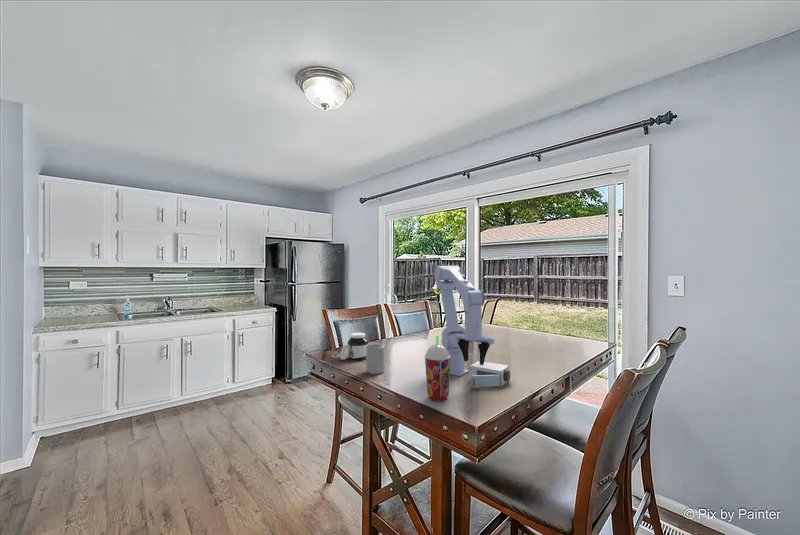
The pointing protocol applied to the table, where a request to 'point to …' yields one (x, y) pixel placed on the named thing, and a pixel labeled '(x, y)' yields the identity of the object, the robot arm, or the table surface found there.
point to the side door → (486, 380)
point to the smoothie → (437, 372)
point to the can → (375, 358)
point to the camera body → (490, 370)
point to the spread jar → (355, 347)
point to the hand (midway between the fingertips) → (474, 362)
